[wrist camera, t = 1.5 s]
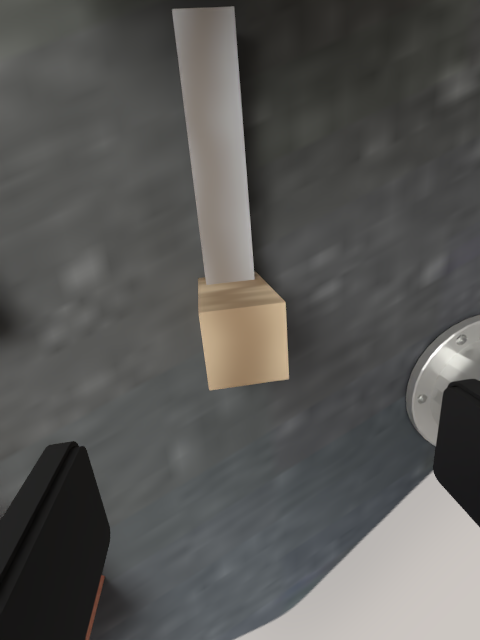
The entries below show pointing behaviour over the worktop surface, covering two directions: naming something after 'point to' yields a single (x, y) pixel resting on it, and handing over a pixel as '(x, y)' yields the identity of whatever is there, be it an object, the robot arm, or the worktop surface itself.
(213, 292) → the push stick
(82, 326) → the worktop surface
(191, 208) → the worktop surface
